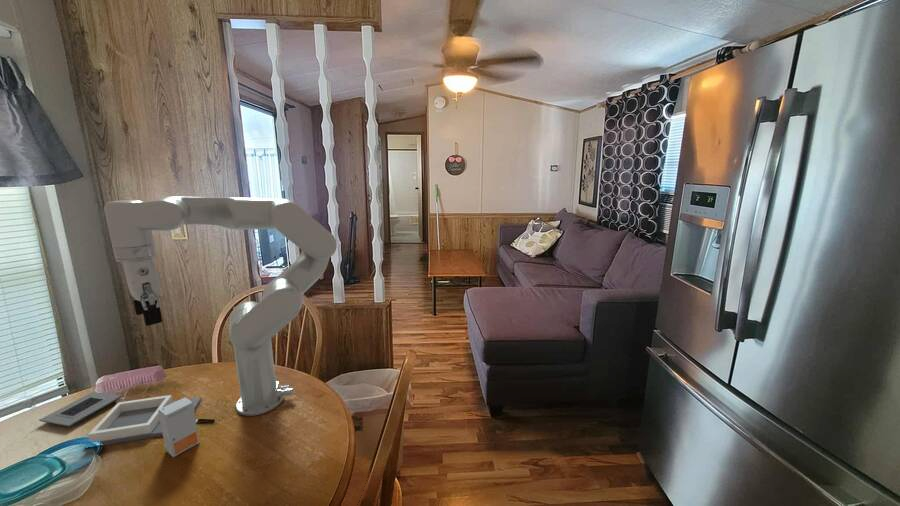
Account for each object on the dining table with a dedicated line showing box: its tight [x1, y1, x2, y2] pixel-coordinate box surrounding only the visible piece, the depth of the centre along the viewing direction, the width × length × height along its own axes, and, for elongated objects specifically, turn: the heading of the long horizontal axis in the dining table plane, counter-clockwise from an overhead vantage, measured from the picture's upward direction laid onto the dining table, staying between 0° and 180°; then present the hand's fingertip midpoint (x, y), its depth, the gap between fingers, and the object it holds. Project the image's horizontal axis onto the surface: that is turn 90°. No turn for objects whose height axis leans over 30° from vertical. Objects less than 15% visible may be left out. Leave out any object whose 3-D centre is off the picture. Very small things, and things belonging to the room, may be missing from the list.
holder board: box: [87, 394, 202, 446], centre depth 99 cm, size 21×14×4 cm, turn 106°
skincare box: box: [158, 396, 200, 458], centre depth 89 cm, size 6×4×12 cm
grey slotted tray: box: [38, 390, 122, 427], centre depth 103 cm, size 13×10×2 cm
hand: (149, 318), depth 90 cm, fingers open, 9 cm apart
